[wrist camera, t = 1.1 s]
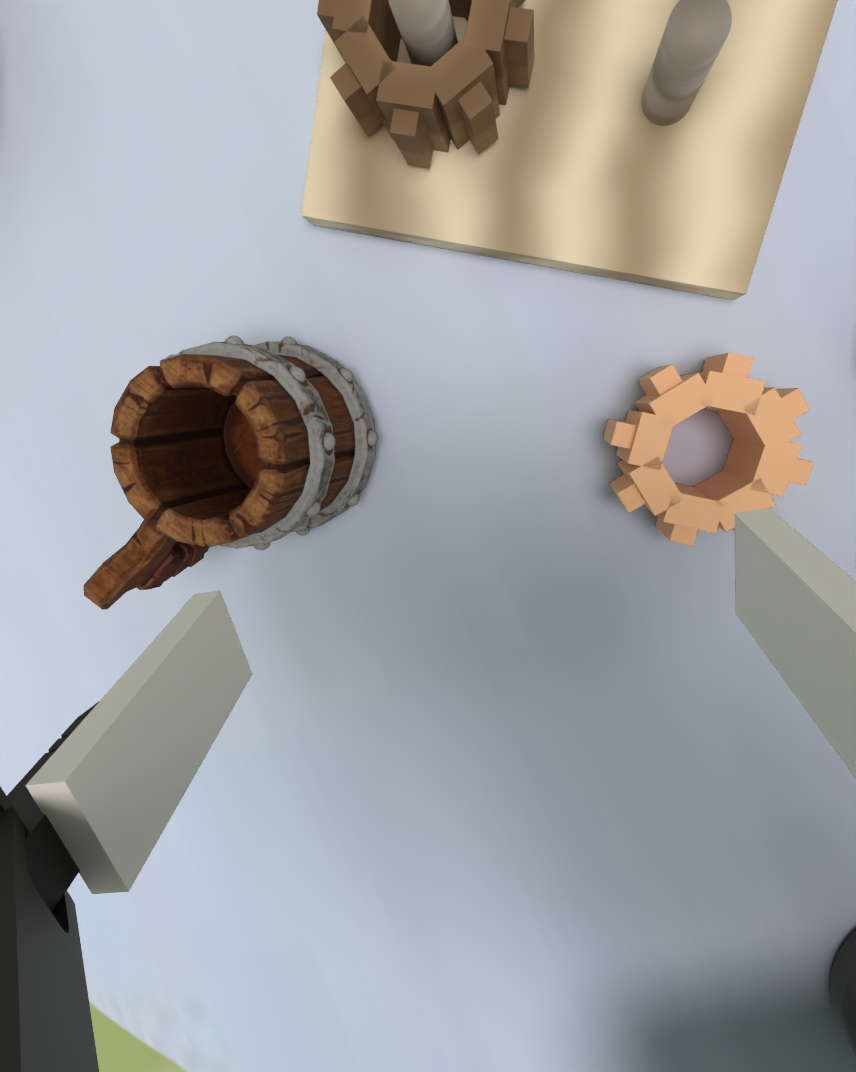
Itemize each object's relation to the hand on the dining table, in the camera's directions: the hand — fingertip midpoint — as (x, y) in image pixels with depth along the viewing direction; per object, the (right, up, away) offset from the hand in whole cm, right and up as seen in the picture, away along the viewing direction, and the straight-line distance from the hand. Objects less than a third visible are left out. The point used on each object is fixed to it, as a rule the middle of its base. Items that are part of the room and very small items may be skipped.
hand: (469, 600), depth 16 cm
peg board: (+5, +25, +16) cm, 30 cm away
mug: (-10, +7, +24) cm, 27 cm away
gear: (+14, +7, +19) cm, 25 cm away
